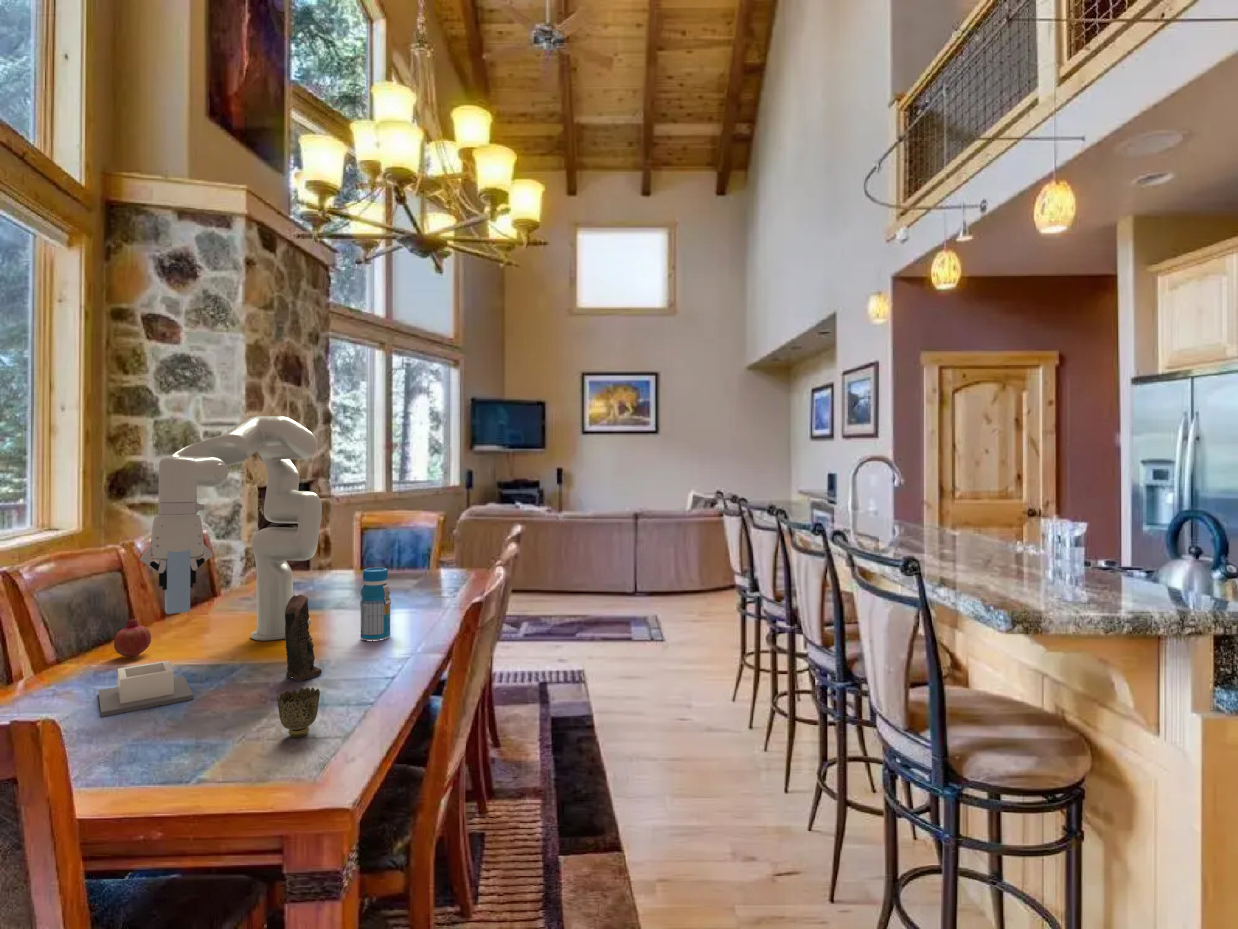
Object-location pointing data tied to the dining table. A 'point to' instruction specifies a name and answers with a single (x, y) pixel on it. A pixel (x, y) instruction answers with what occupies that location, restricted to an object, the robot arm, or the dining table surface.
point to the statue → (299, 640)
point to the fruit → (132, 639)
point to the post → (177, 582)
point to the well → (144, 689)
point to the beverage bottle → (375, 605)
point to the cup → (298, 710)
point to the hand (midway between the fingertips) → (177, 587)
